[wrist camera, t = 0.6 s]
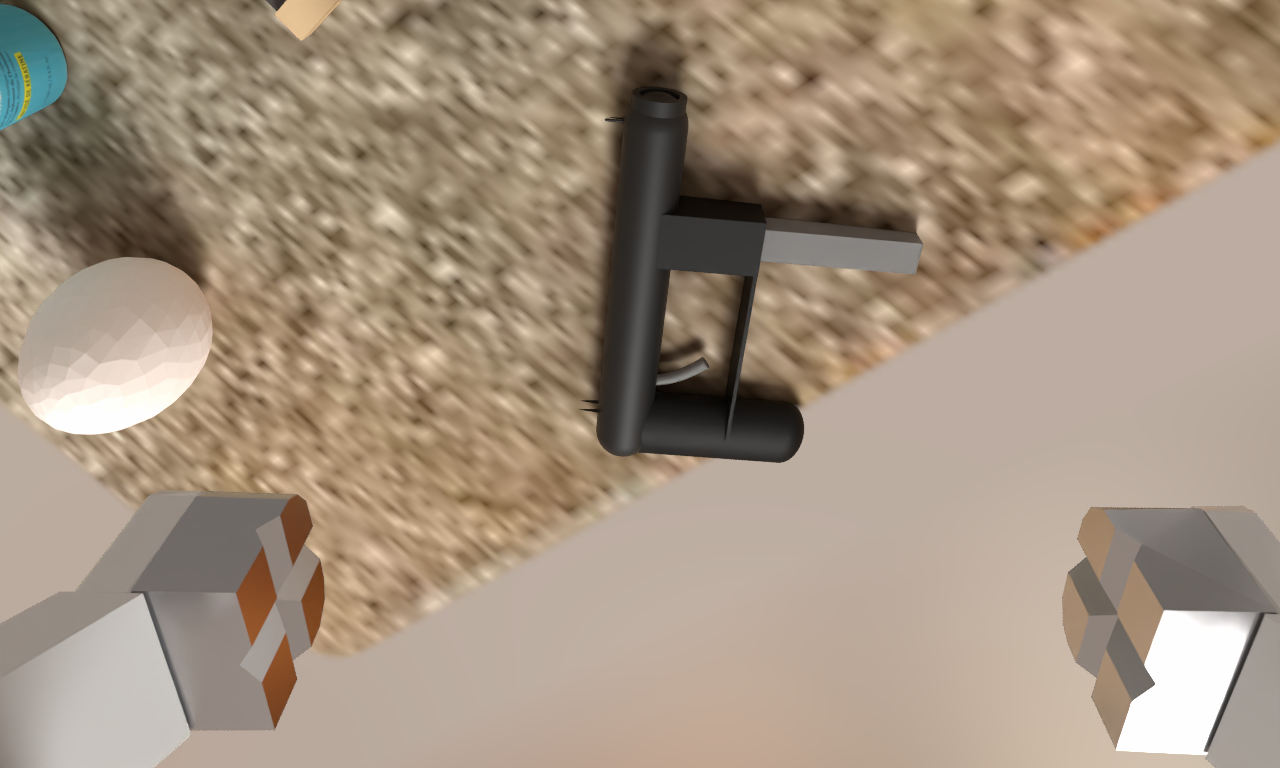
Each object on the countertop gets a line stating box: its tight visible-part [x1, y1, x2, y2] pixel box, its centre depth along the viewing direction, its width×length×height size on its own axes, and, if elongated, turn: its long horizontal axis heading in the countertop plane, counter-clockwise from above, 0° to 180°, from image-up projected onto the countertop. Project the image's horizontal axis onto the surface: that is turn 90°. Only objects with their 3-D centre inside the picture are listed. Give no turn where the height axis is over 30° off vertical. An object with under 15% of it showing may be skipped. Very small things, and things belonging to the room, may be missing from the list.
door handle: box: [579, 87, 923, 463], centre depth 51 cm, size 3×20×16 cm
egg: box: [18, 257, 213, 434], centre depth 49 cm, size 7×7×12 cm
